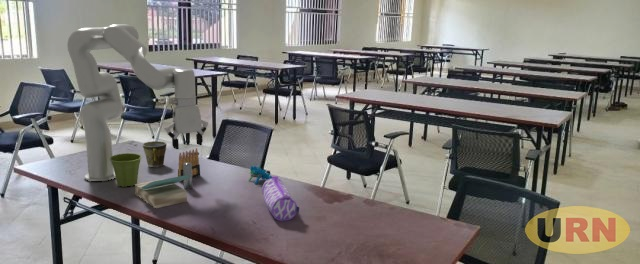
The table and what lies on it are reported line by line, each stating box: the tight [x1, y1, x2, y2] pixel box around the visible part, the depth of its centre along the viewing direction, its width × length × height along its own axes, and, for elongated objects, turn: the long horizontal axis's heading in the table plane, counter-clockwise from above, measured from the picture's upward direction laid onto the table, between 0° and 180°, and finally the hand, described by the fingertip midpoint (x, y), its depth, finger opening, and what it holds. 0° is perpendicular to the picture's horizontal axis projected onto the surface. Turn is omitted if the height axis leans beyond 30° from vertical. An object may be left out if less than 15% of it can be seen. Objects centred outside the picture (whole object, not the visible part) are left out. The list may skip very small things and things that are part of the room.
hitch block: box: [134, 178, 188, 209], centre depth 193 cm, size 18×12×4 cm, turn 40°
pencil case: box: [261, 175, 300, 222], centre depth 183 cm, size 22×9×10 cm, turn 18°
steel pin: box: [183, 162, 193, 190], centre depth 204 cm, size 3×3×10 cm
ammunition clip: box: [177, 148, 201, 183], centre depth 216 cm, size 11×2×12 cm, turn 147°
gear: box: [248, 165, 273, 185], centre depth 213 cm, size 11×6×10 cm
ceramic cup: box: [142, 140, 168, 168], centre depth 231 cm, size 13×10×10 cm
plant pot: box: [110, 152, 143, 188], centre depth 206 cm, size 12×12×11 cm
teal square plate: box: [141, 175, 189, 190], centre depth 189 cm, size 12×13×1 cm
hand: (187, 146), depth 201 cm, fingers open, 9 cm apart
